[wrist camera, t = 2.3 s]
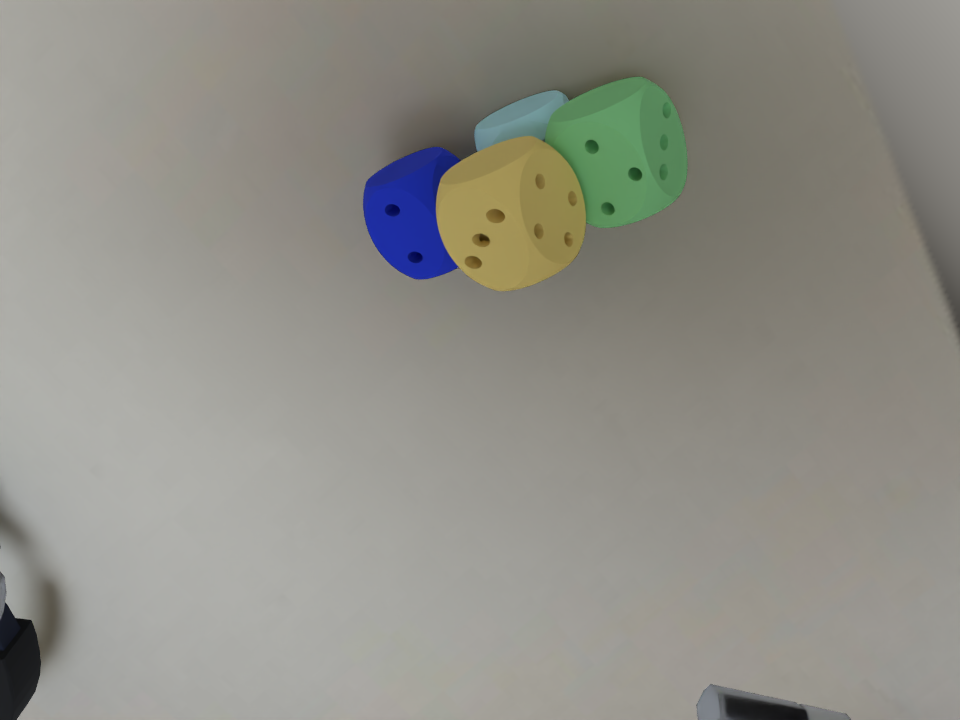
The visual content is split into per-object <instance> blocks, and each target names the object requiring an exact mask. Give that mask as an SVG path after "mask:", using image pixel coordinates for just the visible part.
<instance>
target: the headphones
mask: <svg viewBox="0 0 960 720" xmlns="http://www.w3.org/2000/svg"><path fill="white" fill-rule="evenodd" d="M40 668H41V659H40V650H39V645H38V640H37V634H36V632H35V629H34V626H33V623H32V620H27V619H17V618H16V619H15V617H14V615H13V614H12V612H11V610H10V609H9V607H8V605H7V604H6V603H5V606H4V612H3V614H2V617H1V619H0V720H17V718H18V717H19V715H20V714H21V712H22V711H23V710H24V708H25V707H26V705H27V704H28V702H29V701H30V699H31V697H32V696H33V694H34V693H35V691H36V687H37V683H38V680H39V676H40Z"/></svg>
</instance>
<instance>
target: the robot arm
mask: <svg viewBox="0 0 960 720" xmlns="http://www.w3.org/2000/svg"><path fill="white" fill-rule="evenodd" d="M0 548H1V547H0ZM5 599H6V585H5V577H4V575H3V574H2V573H1V572H0V619H1V617H2V614H3V612H4V606H5ZM696 706H697V717H698V720H851V719H850V718H849V717H848V715H847V714H845V713H840V712H836V711H831V710H827V709H822V708H817V707H813V706H808V705H804V704H797V703H796V702H792V701H787V700H783V699H778V698H773V697H769V696H764V695H759V694H755V693H750V692H745V691H741V690H736V689H731V688H727V687H722V686H717V685H713V684H710V685H709V686H708V687H707V688H706V689H705V690H704V691H703V693H702V695H701V697H700V699H699V701H698V703H697V705H696Z"/></svg>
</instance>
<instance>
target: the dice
mask: <svg viewBox="0 0 960 720" xmlns="http://www.w3.org/2000/svg"><path fill="white" fill-rule="evenodd" d="M474 137H475V144H476V149H477V152H476V153H474V154H472V155H470V156H469V157H467V158H465V159H463V160H462V161H461V160H460V159H459V158H457V157H456V156H455V155H454V154H452V153H450V152H449V151H447V150H445V149H443V148H441V147H432V148H427V149H424V150H421V151H418V152H415V153H412V154H410V155H408V156H405V157H403V158H401V159H399V160H397V161H395V162H393V163H391V164H389V165H388V166H386V167H384V168H383V169H381V170H379V171H378V172H377V173H375V174H374V175H373V176H371V177H370V178H369V179H368V181H367V182H366V185H365V190H364V197H363V210H364V217H365V222H366V225H367V229H368V232H369V234H370V237H371V239H372V241H373V243H374V244H375V246H376V248H377V249H378V251H379V252H380V253H381V255H382V256H383V257H384V258H385V259H386V260H387V261H388V262H389V263H390V264H391V265H392V266H393V267H394V268H396V269H397V270H398V271H400V272H401V273H403V274H405V275H407V276H409V277H412V278H414V279H429V278H433V277H436V276H440V275H442V274H445V273H447V272H450V271H452V270H454V269H456V268H458V267H459V268H460V269H461V270H462V271H463V272H464V273H465V274H466V275H467V276H469V277H470V278H471V279H473V280H474V281H476V282H477V283H479V284H481V285H483V286H485V287H488V288H490V289H492V290H496V291H511V290H516V289H521V288H524V287H528V286H531V285H533V284H536V283H538V282H541V281H543V280H545V279H547V278H549V277H551V276H553V275H555V274H556V273H558V272H559V271H561V270H562V269H564V268H565V267H566V266H568V265H569V264H570V263H571V262H572V261H573V260H574V259H575V258H576V256H577V255H578V253H579V251H580V248H581V246H582V243H583V240H584V235H585V228H586V223H588V224H590V225H592V226H595V227H599V228H612V227H619V226H623V225H627V224H631V223H634V222H637V221H640V220H642V219H645V218H647V217H649V216H652V215H654V214H656V213H658V212H659V211H661V210H663V209H664V208H666V207H667V206H669V205H670V204H672V203H673V202H674V201H675V200H676V199H677V198H678V197H679V196H680V194H681V192H682V190H683V188H684V186H685V182H686V177H687V149H686V142H685V137H684V132H683V128H682V125H681V122H680V119H679V116H678V113H677V111H676V109H675V107H674V105H673V103H672V101H671V99H670V98H669V96H668V95H667V94H666V92H665V91H664V90H663V89H661V88H660V87H659V86H657V85H656V84H654V83H653V82H651V81H649V80H648V79H646V78H644V77H631V78H626V79H622V80H618V81H614V82H611V83H608V84H605V85H603V86H600V87H597V88H595V89H593V90H590V91H588V92H586V93H584V94H582V95H580V96H578V97H576V98H574V99H572V100H570V101H569V100H568V98H567V97H566V95H565V94H563V93H561V92H559V91H557V90H552V91H546V92H542V93H538V94H535V95H532V96H529V97H527V98H524V99H521V100H519V101H516V102H514V103H512V104H510V105H508V106H505V107H503V108H501V109H499V110H498V111H496V112H494V113H492V114H490V115H489V116H487V117H486V118H484V119H483V120H482V121H480V122H479V123H478V124H477V126H476V128H475V132H474Z"/></svg>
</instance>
